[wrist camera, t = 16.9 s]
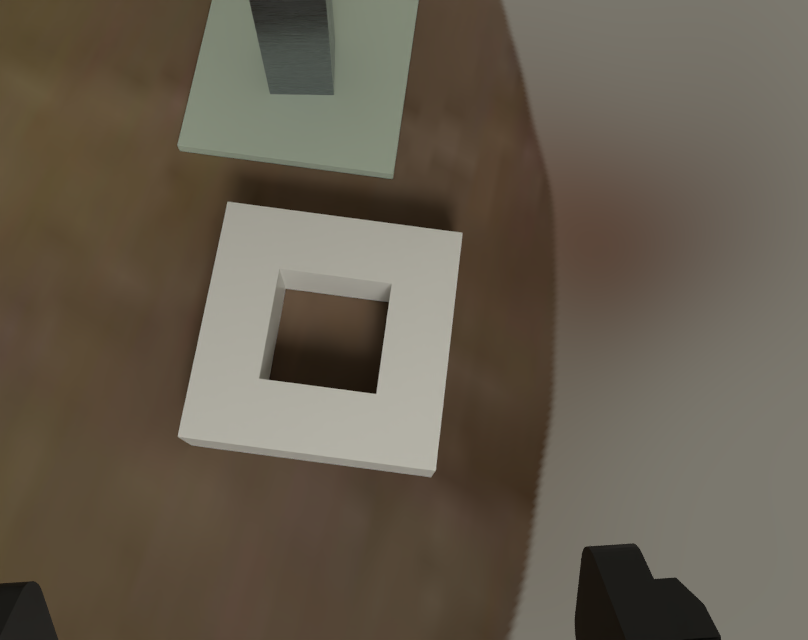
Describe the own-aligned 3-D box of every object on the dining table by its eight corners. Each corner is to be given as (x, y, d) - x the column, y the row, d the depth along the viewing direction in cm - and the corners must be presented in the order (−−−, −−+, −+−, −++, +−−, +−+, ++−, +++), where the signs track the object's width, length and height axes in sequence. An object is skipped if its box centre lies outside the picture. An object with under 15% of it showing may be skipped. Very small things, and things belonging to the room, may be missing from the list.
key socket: (192, 445, 39) (177, 436, 36) (237, 225, 42) (227, 201, 39) (430, 477, 39) (435, 470, 36) (456, 254, 42) (462, 232, 39)
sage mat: (179, 150, 43) (177, 145, 43) (221, -25, 47) (219, -32, 46) (392, 179, 43) (393, 174, 43) (418, 1, 47) (419, -6, 46)
